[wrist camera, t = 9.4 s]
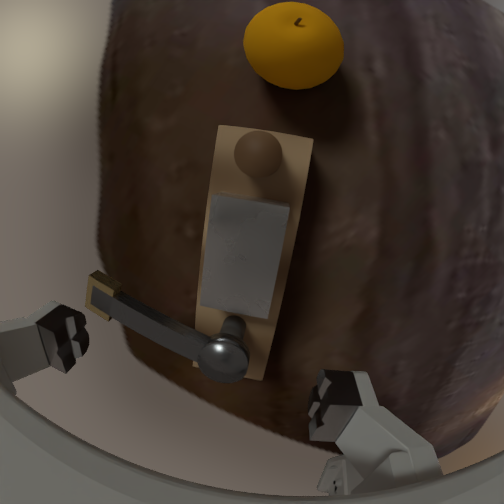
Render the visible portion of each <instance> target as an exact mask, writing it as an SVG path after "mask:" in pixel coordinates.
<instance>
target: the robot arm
mask: <svg viewBox="0 0 504 504" xmlns="http://www.w3.org/2000/svg"><path fill="white" fill-rule="evenodd" d="M85 325H86V319H85V315H84V314H82V312H79V311H76V310H75V309H72V308H70V307H68V306H65V305H62V304H60V303H58V302H56V301H50V302H49V303H47V304H46V305H45V306H43V307H41V308H40V309H39V310H37V311H36V312H34V313H33V314H31V315H30V316H29V317H27V318H24V317H22V318H17V319H12V320H6V321H1V322H0V504H504V450H503V451H501V452H499V453H497V454H495V455H493V456H491V457H489V458H487V459H484V460H483V461H480V462H478V463H475V464H473V465H470V466H468V467H465V468H463V469H460V470H457V471H455V472H452V473H449V474H446V475H443V473H442V470H441V467H440V465H439V462H438V459H437V456H436V454H435V451H434V449H433V446H432V445H431V444H430V443H429V442H427V441H426V440H425V439H424V438H422V437H421V436H420V435H418V434H417V433H416V432H415V431H413V430H412V429H411V428H410V427H408V426H407V425H406V424H405V423H403V422H402V421H401V420H400V419H398V418H397V417H396V416H395V415H393V414H392V413H391V412H390V411H388V410H387V409H386V408H385V407H384V406H379V404H378V401H377V398H376V396H375V393H374V390H373V387H372V384H371V382H370V379H369V376H368V374H367V373H366V372H365V371H339V370H327V369H321V370H320V372H319V374H318V376H317V385H316V386H314V387H313V388H312V390H311V393H310V396H309V401H308V415H309V416H310V417H311V418H312V419H311V421H310V423H309V434H310V440H312V441H330V442H335V443H336V445H337V446H338V447H339V448H340V450H341V451H342V452H343V454H344V455H340V456H336V457H333V458H330V459H329V460H328V461H327V463H326V466H325V469H324V471H323V473H322V476H321V478H320V481H319V483H318V485H317V490H318V491H321V492H327V493H329V496H279V495H265V494H256V493H247V492H240V491H233V490H227V489H221V488H216V487H212V486H206V485H202V484H198V483H194V482H190V481H186V480H182V479H179V478H175V477H172V476H168V475H165V474H162V473H159V472H156V471H153V470H150V469H147V468H144V467H142V466H139V465H137V464H134V463H131V462H129V461H126V460H124V459H122V458H119V457H117V456H115V455H113V454H110V453H108V452H106V451H104V450H102V449H100V448H98V447H96V446H94V445H92V444H90V443H88V442H86V441H84V440H82V439H80V438H78V437H77V436H75V435H73V434H71V433H70V432H68V431H66V430H64V429H63V428H61V427H60V426H58V425H56V424H55V423H53V422H51V421H50V420H49V419H47V418H46V417H44V416H43V415H41V414H40V413H38V412H37V411H35V410H34V409H32V408H31V407H29V406H28V405H27V404H26V403H24V402H23V401H22V400H20V399H19V398H18V397H17V396H15V395H16V389H15V387H14V385H13V383H12V382H14V381H16V380H19V379H21V378H24V377H26V376H28V375H31V374H33V373H35V372H38V371H40V370H43V369H45V368H47V367H49V365H50V366H52V367H54V368H56V369H58V370H59V371H61V372H63V373H65V374H66V373H67V372H68V371H69V370H70V369H71V368H72V367H73V366H74V365H75V363H76V358H79V357H82V356H83V355H84V354H85V353H86V351H87V349H88V346H89V334H88V332H87V331H86V329H85V328H84V327H85Z"/></svg>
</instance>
